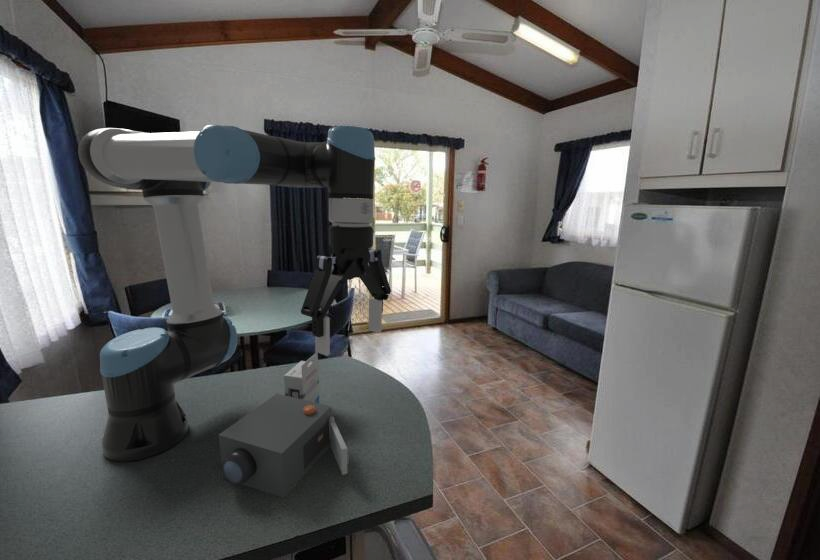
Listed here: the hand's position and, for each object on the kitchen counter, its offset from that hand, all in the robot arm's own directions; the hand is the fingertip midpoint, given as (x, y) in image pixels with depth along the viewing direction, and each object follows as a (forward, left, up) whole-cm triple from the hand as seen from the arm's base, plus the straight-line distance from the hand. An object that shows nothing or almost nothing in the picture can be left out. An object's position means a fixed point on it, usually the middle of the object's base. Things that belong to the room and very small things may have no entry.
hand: (350, 341), depth 68 cm
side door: (-3, 0, -26) cm, 26 cm away
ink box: (-20, +13, -27) cm, 36 cm away
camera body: (-14, -5, -27) cm, 30 cm away
